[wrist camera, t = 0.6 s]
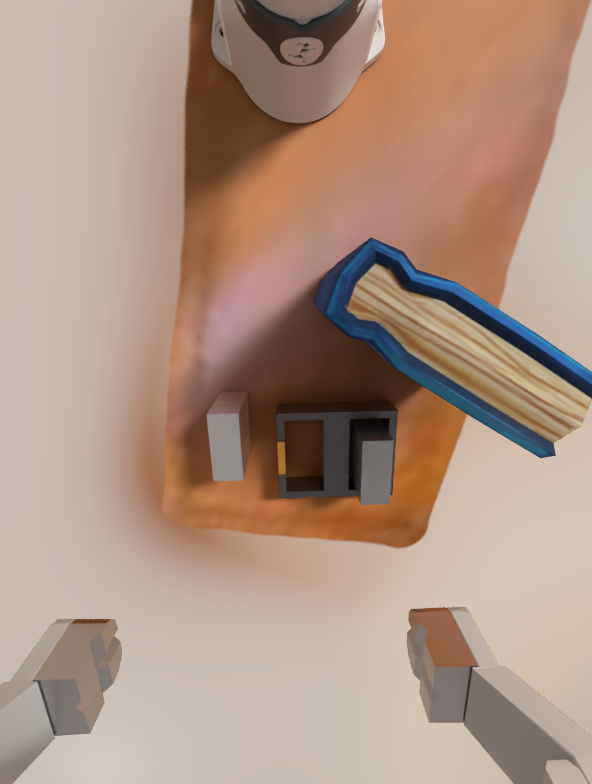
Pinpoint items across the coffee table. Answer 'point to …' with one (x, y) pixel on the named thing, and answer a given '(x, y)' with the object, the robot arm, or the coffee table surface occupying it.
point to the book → (457, 346)
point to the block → (229, 436)
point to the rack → (344, 450)
